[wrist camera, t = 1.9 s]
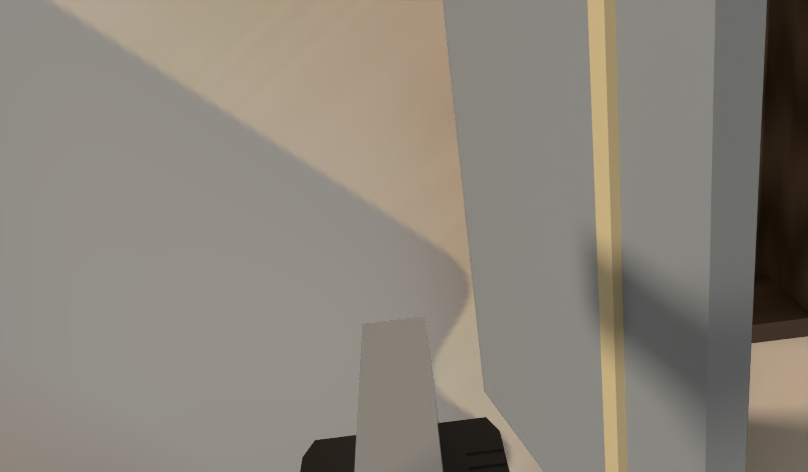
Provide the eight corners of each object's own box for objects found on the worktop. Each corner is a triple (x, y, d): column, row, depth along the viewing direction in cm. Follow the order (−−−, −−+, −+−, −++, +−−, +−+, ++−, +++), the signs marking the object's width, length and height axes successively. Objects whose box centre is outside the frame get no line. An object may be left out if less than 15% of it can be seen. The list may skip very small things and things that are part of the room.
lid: (458, -132, 29) (421, -128, 28) (777, -242, 14) (705, -235, 13) (506, 384, 37) (478, 392, 37) (736, 669, 22) (691, 686, 22)
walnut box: (446, -108, 36) (459, -117, 29) (788, -156, 35) (880, -177, 29) (487, 308, 44) (505, 373, 37) (766, 273, 43) (833, 332, 37)
